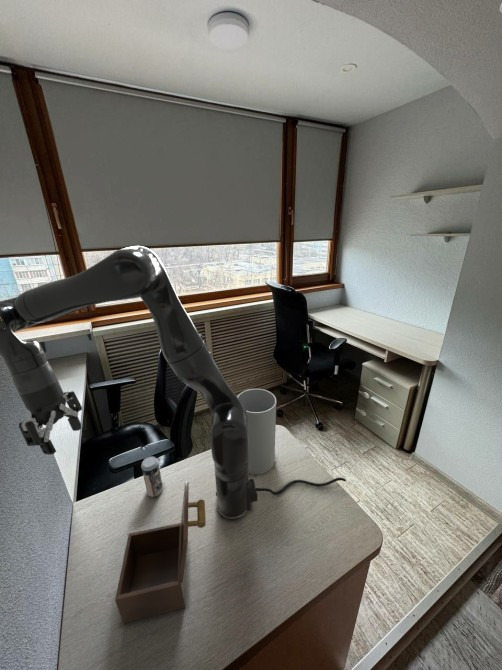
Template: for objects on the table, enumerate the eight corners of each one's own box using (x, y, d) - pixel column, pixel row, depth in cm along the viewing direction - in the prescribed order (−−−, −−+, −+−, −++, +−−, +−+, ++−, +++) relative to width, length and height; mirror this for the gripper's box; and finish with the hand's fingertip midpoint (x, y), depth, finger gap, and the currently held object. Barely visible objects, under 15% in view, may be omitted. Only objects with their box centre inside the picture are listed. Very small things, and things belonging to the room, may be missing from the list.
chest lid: (183, 540, 49) (207, 537, 50) (185, 481, 60) (204, 480, 61) (178, 583, 54) (200, 579, 55) (181, 521, 65) (199, 519, 66)
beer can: (158, 499, 80) (152, 469, 75) (144, 496, 81) (137, 466, 76) (166, 484, 84) (161, 456, 80) (152, 482, 85) (146, 453, 81)
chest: (123, 623, 55) (114, 600, 52) (135, 556, 66) (128, 533, 63) (185, 607, 57) (181, 584, 54) (186, 544, 68) (182, 522, 65)
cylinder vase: (281, 460, 93) (284, 400, 83) (256, 482, 85) (255, 419, 75) (256, 440, 101) (256, 384, 92) (231, 459, 93) (227, 399, 84)
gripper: (23, 399, 55) (55, 461, 60) (74, 369, 69) (96, 421, 74) (-7, 403, 57) (27, 463, 61) (49, 372, 70) (73, 424, 75)
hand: (65, 440), depth 68 cm, fingers open, 8 cm apart
